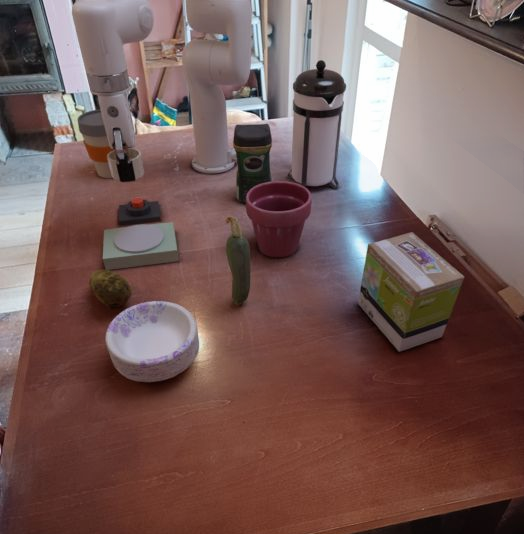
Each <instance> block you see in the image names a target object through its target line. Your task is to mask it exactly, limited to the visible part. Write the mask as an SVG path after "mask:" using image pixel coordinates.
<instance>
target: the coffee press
mask: <svg viewBox="0 0 524 534" xmlns="http://www.w3.org/2000/svg"><path fill="white" fill-rule="evenodd" d="M326 67H327V65H326V61H324V60H323V59H320V60H318V61H317V62H316V64H315V68H313V69H307V70H305V71H302V72H300V74H298V75H297V76H296V78H295V80H294V82H293V83H292V90H293V100H292V112H293V115H292V118H293V119H292V141H291V142H292V143H291V169H290V171H289V172H288V174H287V178H288V179H290V180H291V179H293V180H294V181H295V182H296V183H297V184H299V185H302V186H304V187H305V188H307V189H308V187H319V186H325V185H327V184H328V185H330V187H331V188H332V189H334V190H336V189H337V188H338V187H339V184H340V183H339V181H338V180H337V177H336V176H337V165H338V156H339V146H340V137H341V129H342V127H341V126H342V117H343V116H342V115H343V111H344V103H345V101H344V95H345V92H346V90H347V84H346V82H345V79H344V77H343V76H342V75H341V74H340V73H338V72H337V71H334V70H331V69H326ZM332 181H334V183H333V182H332Z"/></svg>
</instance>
